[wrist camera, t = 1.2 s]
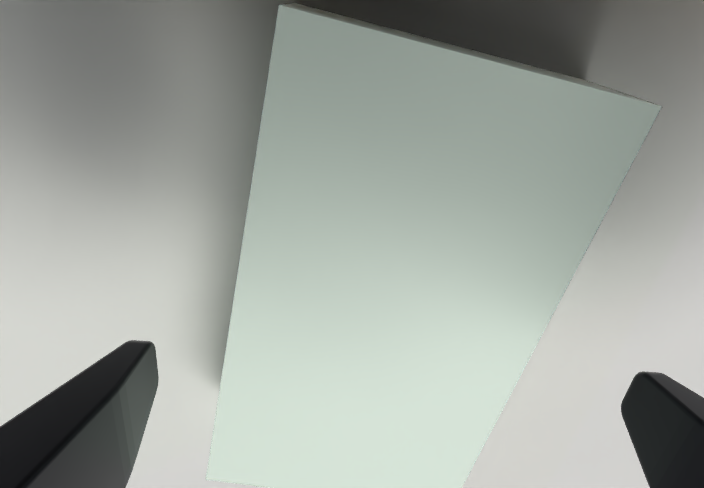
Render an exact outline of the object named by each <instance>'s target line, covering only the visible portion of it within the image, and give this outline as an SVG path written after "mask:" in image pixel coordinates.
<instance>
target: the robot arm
mask: <svg viewBox="0 0 704 488" xmlns="http://www.w3.org/2000/svg"><path fill="white" fill-rule="evenodd" d="M157 386H158V369H157V359H156V350H155V346H154V344H153V343H152V342H150V341H136V340H131V341H128V342H126V343H124V344H123V345H121V346H120V347H118V348H117V349H115V350H114V351H112V352H111V353H109V354H108V355H106V356H105V357H103V358H102V359H100V360H99V361H97V362H96V363H94V364H93V365H91V366H90V367H88V368H87V369H85V370H84V371H82V372H81V373H79V374H78V375H76V376H75V377H73V378H72V379H70V380H69V381H67V382H66V383H64V384H63V385H61V386H60V387H58V388H57V389H56V390H54V391H53V392H51V393H50V394H48V395H47V396H45V397H44V398H42V399H41V400H39V401H38V402H36V403H35V404H33V405H32V406H30V407H29V408H27V409H26V410H24V411H23V412H21V413H20V414H18V415H17V416H15V417H14V418H12V419H11V420H9V421H8V422H6V423H5V424H3V425H2V426H0V488H125V487H126V485H127V483H128V480H129V477H130V475H131V472H132V470H133V466H134V463H135V460H136V457H137V454H138V451H139V447H140V444H141V441H142V437H143V434H144V431H145V427H146V424H147V421H148V417H149V414H150V411H151V408H152V404H153V401H154V398H155V394H156V391H157ZM621 412H622V417H623V419H624V422H625V425H626V427H627V430H628V432H629V435H630V438H631V440H632V443H633V445H634V448H635V451H636V453H637V456H638V458H639V461H640V464H641V466H642V469H643V471H644V474H645V477H646V479H647V482H648V484H649V487H650V488H704V398H703V397H701V396H700V395H698V394H696V393H695V392H693V391H691V390H690V389H688V388H686V387H685V386H683V385H681V384H680V383H678V382H676V381H675V380H673V379H671V378H670V377H668V376H666V375H665V374H662V373H658V372H639V373H638V374H636V375H635V377H634V378H633V380H632V383H631V385H630V387H629V389H628V391H627V393H626V395H625V397H624V399H623V401H622V404H621Z"/></svg>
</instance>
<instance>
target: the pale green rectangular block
mask: <svg viewBox="0 0 704 488" xmlns="http://www.w3.org/2000/svg"><path fill="white" fill-rule="evenodd" d="M661 108H662V106H660V105H657V104H654V103H651V102H648V101H645V100H642V99H639V98H636V97H633V96H630V95H627V94H624V93H621V92H619V91H616V90H613V89H610V88H607V87H604V86H601V85H598V84H595V83H592V82H589V81H586V80H583V79H579V78H575V77H571V76H568V75H564V74H560V73H556V72H553V71H549V70H545V69H541V68H538V67H534V66H530V65H526V64H523V63H519V62H515V61H511V60H508V59H504V58H500V57H496V56H493V55H489V54H485V53H481V52H478V51H474V50H470V49H466V48H463V47H459V46H455V45H451V44H448V43H444V42H440V41H436V40H433V39H429V38H425V37H421V36H418V35H414V34H410V33H406V32H402V31H399V30H395V29H391V28H387V27H384V26H380V25H376V24H372V23H369V22H365V21H361V20H357V19H354V18H350V17H346V16H342V15H339V14H335V13H331V12H327V11H324V10H320V9H316V8H312V7H309V6H305V5H301V4H297V3H288V4H282V5H279V7H278V14H277V20H276V27H275V33H274V40H273V46H272V53H271V59H270V66H269V72H268V79H267V85H266V92H265V98H264V105H263V111H262V118H261V124H260V131H259V137H258V144H257V150H256V157H255V163H254V170H253V176H252V183H251V189H250V196H249V202H248V208H247V215H246V221H245V228H244V234H243V241H242V247H241V254H240V260H239V267H238V273H237V280H236V286H235V293H234V299H233V306H232V312H231V319H230V325H229V332H228V338H227V345H226V351H225V358H224V364H223V371H222V377H221V384H220V390H219V397H218V403H217V410H216V416H215V422H214V429H213V435H212V442H211V448H210V455H209V461H208V468H207V474H206V480H212V481H220V482H227V483H235V484H243V485H251V486H258V487H266V488H462V487H463V485H464V483H465V481H466V479H467V477H468V475H469V473H470V471H471V469H472V468H473V466H474V464H475V462H476V460H477V458H478V456H479V454H480V452H481V450H482V448H483V447H484V445H485V443H486V441H487V439H488V437H489V435H490V433H491V431H492V429H493V428H494V426H495V424H496V422H497V420H498V418H499V416H500V414H501V412H502V410H503V409H504V407H505V405H506V403H507V401H508V399H509V397H510V395H511V393H512V391H513V389H514V388H515V386H516V384H517V382H518V380H519V378H520V376H521V374H522V372H523V370H524V369H525V367H526V365H527V363H528V361H529V359H530V357H531V355H532V353H533V351H534V350H535V348H536V346H537V344H538V342H539V340H540V338H541V336H542V334H543V332H544V331H545V329H546V327H547V325H548V323H549V321H550V319H551V317H552V315H553V313H554V311H555V310H556V308H557V306H558V304H559V302H560V300H561V298H562V296H563V294H564V292H565V291H566V289H567V287H568V285H569V283H570V281H571V279H572V277H573V275H574V273H575V272H576V270H577V268H578V266H579V264H580V262H581V260H582V258H583V256H584V254H585V252H586V251H587V249H588V247H589V245H590V243H591V241H592V239H593V237H594V235H595V233H596V232H597V230H598V228H599V226H600V224H601V222H602V220H603V218H604V216H605V214H606V213H607V211H608V209H609V207H610V205H611V203H612V201H613V199H614V197H615V195H616V193H617V192H618V190H619V188H620V186H621V184H622V182H623V180H624V178H625V176H626V174H627V173H628V171H629V169H630V167H631V165H632V163H633V161H634V159H635V157H636V155H637V154H638V152H639V150H640V148H641V146H642V144H643V142H644V140H645V138H646V136H647V134H648V133H649V131H650V129H651V127H652V125H653V123H654V121H655V119H656V117H657V115H658V114H659V112H660V110H661Z"/></svg>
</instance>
